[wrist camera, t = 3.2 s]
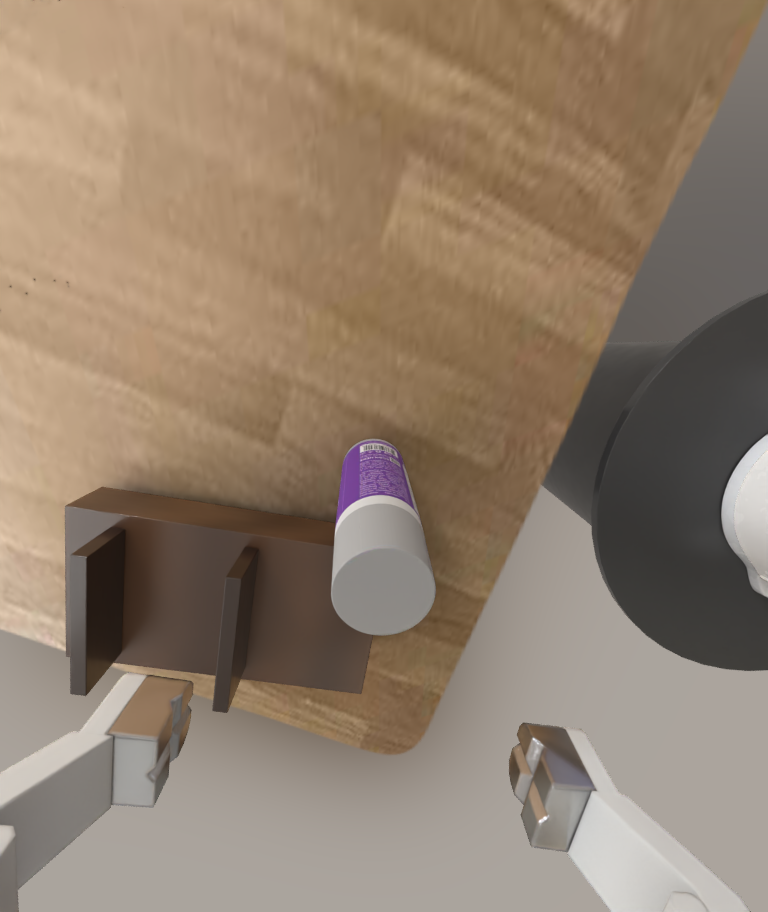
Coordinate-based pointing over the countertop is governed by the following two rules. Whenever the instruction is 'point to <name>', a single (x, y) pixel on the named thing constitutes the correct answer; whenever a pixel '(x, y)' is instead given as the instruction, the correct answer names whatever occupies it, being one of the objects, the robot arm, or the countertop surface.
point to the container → (379, 544)
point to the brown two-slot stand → (204, 595)
